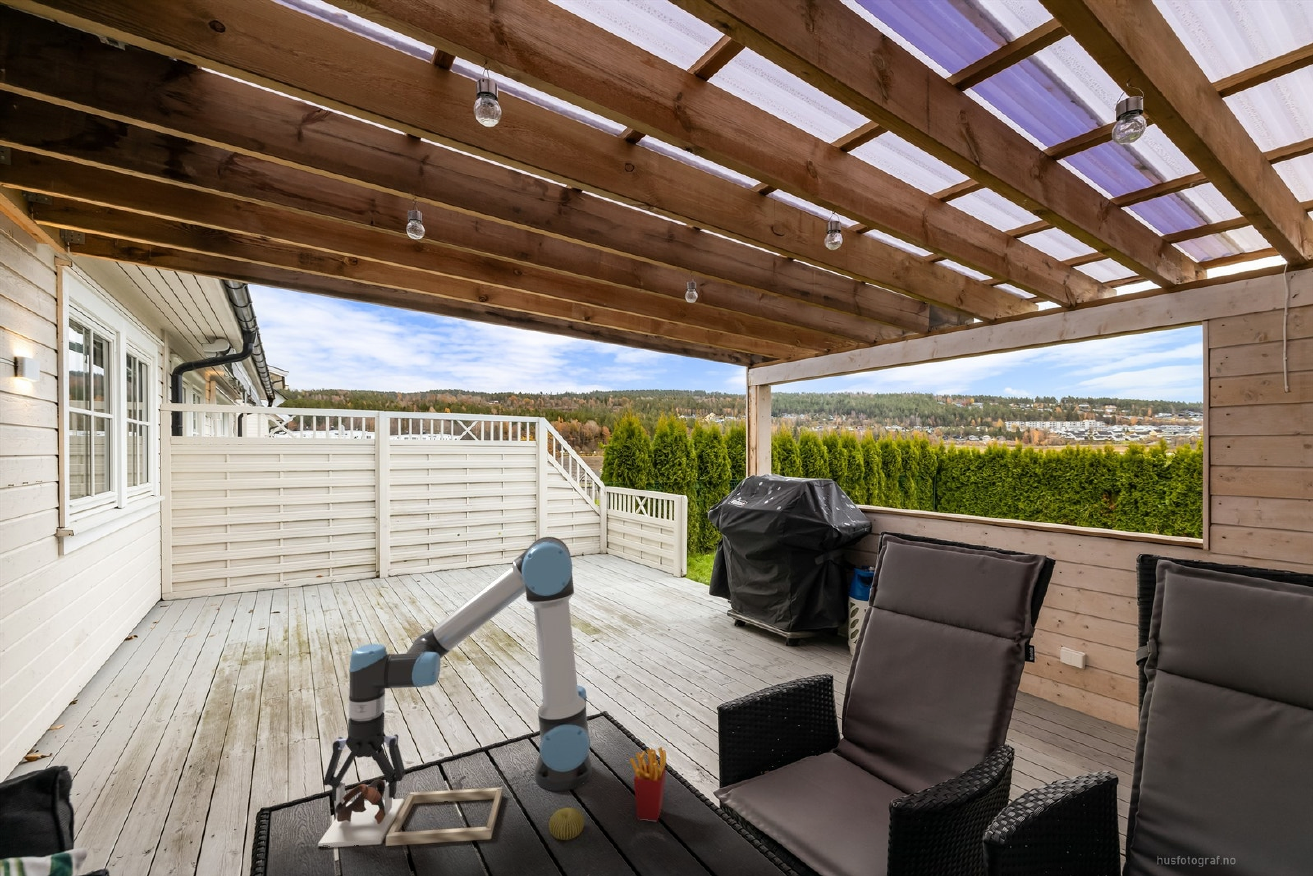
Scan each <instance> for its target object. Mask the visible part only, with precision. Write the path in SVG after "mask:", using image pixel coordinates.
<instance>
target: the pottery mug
mask: <svg viewBox="0 0 1313 876" xmlns="http://www.w3.org/2000/svg"><path fill="white" fill-rule="evenodd" d="M385 785H386V783H385V782H384V781H383V779H381V778H377V779H374V780H373V781H372V782H371V783H370V784H369V785H367V784H366V783H362V784H359V785H357V786H356V787H354V788H352V789H351V790H350V791H348V792H347V793H345V796H344V797H343V799H344V800H345V802H344V803H343V804H342V803H341V802H339V804H338V805H337V806H336V805H335V809H334V811H335V814H336V813H337V814H338V815H337V821H338V822H342V821H345V820H347V821H349V822H351V814H352V811H354V812H364V811H365V810H366V808H365V807H364V806H365V803H364V801H369V802H370V803H371V804H372V805H378V806H379V811H378V812H377V814H376V815H375V819H376V820H377V823H378V824H380V823H381V822H382V820H383V819H384V817H385V815H386V814H385V811H384V808H385V806H384V803H383V800H384V799H383V797H384V795H385ZM358 794H359V795H358ZM355 796H357V797H356V798H355V799H354V800H353V801H352V799H353V798H354V797H355ZM348 802H352V803H351V804H349V805H348V806H347V807H346V804H347V803H348Z"/></svg>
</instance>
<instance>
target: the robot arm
mask: <svg viewBox="0 0 1313 876" xmlns="http://www.w3.org/2000/svg"><path fill="white" fill-rule="evenodd" d="M573 578H574V577H573V562H572V557H571V552H570V549H569V547H568V546H567V544H566V543H565V542H564V541H563V540H561V539H559V538H557V537H554V536H543V537H540V538H538V539H537V540H535V541H533V542H532V544H531V545H529V547H527V549H526V550H525V551H523V553H521V554H520V555H519V556H518V557H516V558H515V559H514V560H513V561H512V566H511V567H510V568H508V569H507V570H506V571H505V572H503V573H502V574H501V575H499V576H498V577H497V578H496V579H494V580H493V581H492V582H490V583H489V584H487V586H485V587H484V588H483V589H481V590H480V591H479V592H477V593H476V594H475V595H474V596H472V597H471V598H470V599H469V600H467V601H466V602H465V603H463V604H462V605H461V606H459V607H458V608H457V609H456V610H454V611H453V612H452V613H450V614H449V615H447V616H446V617H445V618H444V619H442V620H441V621H440V622H439V623H438V624H436V625H435V626H433V628H431V629H429V630H428V631H427V632H425V633H422V634H421V635H420V636H419V637H417V638H416V639H415V640H414V642H413V643H412V644H411V646H410V648H409V649H408V650H407V651H406V652H405V653H396V654H395V653H388V652H387V648H386V646H385V645H383V644H378V643H372V644H371V643H370V644H365V645H361V646H359V647H357V648H355V649H353V651H352V652H351V654H350V663H349V664H350V665H349V669H348V673H349V674H348V675H349V677H348V678H349V681H348V682H349V683H348V685H349V689H348V690H349V693H348V694H349V695H348V696H349V697H348V717H349V718H348V720H347V722H348V723H347V729H348V730H347V738H343V737H341V736H339V737H337V738H336V740H334V742H333V743H332V754H331V757H330V760H329V764H328V767H327V770H326V774H325V777H324V779H323V782H322V783H323V785H324V786H330V787H331V789H332V790H331V800H332V801H333V802H335V807H336V806H337V805H338V804H339V802H341V803H342V804H343V803H344V802H345V800H344V799H343V797H344V796H345V795H346V781H342V780H343V779H344V777H345V775H346V773H347V772H348V770H349V768H350V767H351V765H352V763H353V761H354V760H355V758H357V759H359V758H372V760H373V761H374V762H376V764H377V766H378V767H379V769H380V771H381V773H382V774H383V777H384V778H385V780H386V781H387V782H386V783H385V791H384V800H385V808H384V811H385V814H386V815H387V814H388V813H389V811H390V810H391V808H392V799H394V798H395V796H396V795H397V790H398V789H397V788H398V787H397V785H398V784H397V783H398V782H401V781H402V780H403V779H404V777H405V775H406V769H405V766H404V762H403V759H402V755H401V752H400V747H399V735H398V734H393V736H388V735H386V734H385V712H384V711H385V709H386V708H385V707H386V706H385V705H386V704H385V700H386V697H385V696H386V689H400V688H401V689H402V688H405V689H406V688H423V687H430V686H431V687H432V686H434V685H436V684H437V683H438V680H439V679H440V678H439V676H440V674H441V673H440V672H441V659H442V658H444V656H446V655H447V654H448V653H449V652H451V651H452V650H453V649H454V648H456V647H457V646H458V645H459V644H461V643H462V642H463V641H465V640H466V639H467V638H469V637H470V636H471V635H472V634H474V632H476V631H478V630H479V629H480V628H481V627H483V626H484V625H485V624H486V623H488V621H490V620H492V619H493V618H494V617H495V616H497V615H498V614H499V613H501V612H502V611H503V610H504V609H506V608H507V607H508V606H510V605H511V604H512V603H513V602H514V601H516V600H517V599H518V598H519V597H520V598H521V596H522V595H524V594H525V597H526V602H528V603H529V604H530V605H531V606H532V607H533V610H534V611H533V612H534V613H533V614H534V623H535V631H536V641H537V642H536V643H537V653H538V663H539V664H538V665H539V674H540V681H541V682H540V683H541V692H542V699H541V703H542V704H541V705H540V706H539V708H538V710H537V715H538V716H537V717H538V726H539V727H538V728H539V737H540V743H539V755H538V758H537V761H536V764H535V767H534V768H535V769H534V780H535V783H536V784H537V785H538V786H540V787H541V788H543V789H545V790H547V791H556V792H564V791H571V790H575V789H577V788H580V787H581V785H582V784H583V783H585V784H586V783H588V781H589V780H590V779H591V778H590V776H591V777H592V775H593V773H592V772H593V767H592V766H593V764H592V763H593V762H592V761H591V757H590V754H589V751H590V747H591V738H590V735H589V724H588V716H587V715H588V714H587V699H588V697H587V691H586V688H585V687H584V686H581V685H578V680H577V679H578V677H577V669H576V660H575V659H576V658H575V650H574V640H573V629H572V620H571V610H570V609H571V608H570V602H569V601H570V600H571V598H572V596H574V595H575V589H574V588H575V587H574V579H573ZM383 744H386V748H388V752H389V755H390V760H391V762H390V760H389V758H388V757H387V754H386V753H385V749H384V747H383ZM346 746H347V748H348V749H349V751H350V753H349V755H348V756H347V758H346V760H345V761H344V763H343V764H342V766H341V769H339V771H338V774H337V775H336V770H337V767H338V764H339V761H340V759H341V755H342V753H343V749H344V748H345V747H346ZM591 774H592V775H591ZM335 775H336V776H335ZM589 778H590V779H589ZM588 779H589V780H588ZM587 780H588V781H587ZM583 785H584V784H583ZM583 785H582V786H583ZM579 786H580V787H579ZM576 787H577V788H576ZM574 788H575V789H574ZM570 789H571V790H570ZM337 815H338V814H337V813H336V812H335V819H336V818H337Z"/></svg>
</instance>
